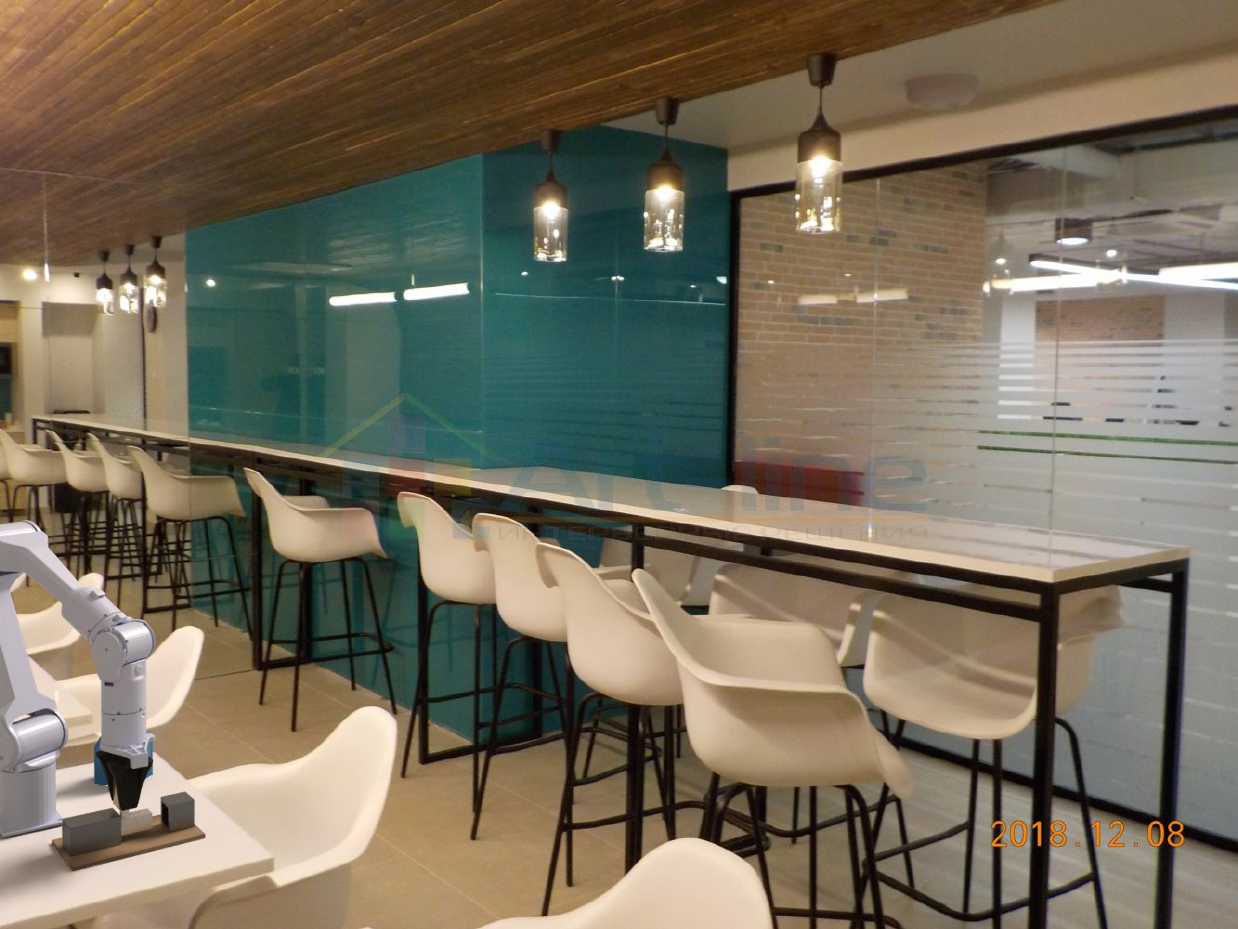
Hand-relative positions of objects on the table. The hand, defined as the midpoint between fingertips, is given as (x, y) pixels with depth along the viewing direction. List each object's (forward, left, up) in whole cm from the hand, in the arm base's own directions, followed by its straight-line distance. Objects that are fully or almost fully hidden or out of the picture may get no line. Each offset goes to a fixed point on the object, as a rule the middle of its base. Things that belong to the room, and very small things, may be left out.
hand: (124, 804), depth 147 cm
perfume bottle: (-25, +7, -6) cm, 27 cm away
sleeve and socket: (0, +1, -5) cm, 5 cm away
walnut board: (0, +1, -5) cm, 5 cm away
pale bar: (0, -2, -4) cm, 4 cm away
